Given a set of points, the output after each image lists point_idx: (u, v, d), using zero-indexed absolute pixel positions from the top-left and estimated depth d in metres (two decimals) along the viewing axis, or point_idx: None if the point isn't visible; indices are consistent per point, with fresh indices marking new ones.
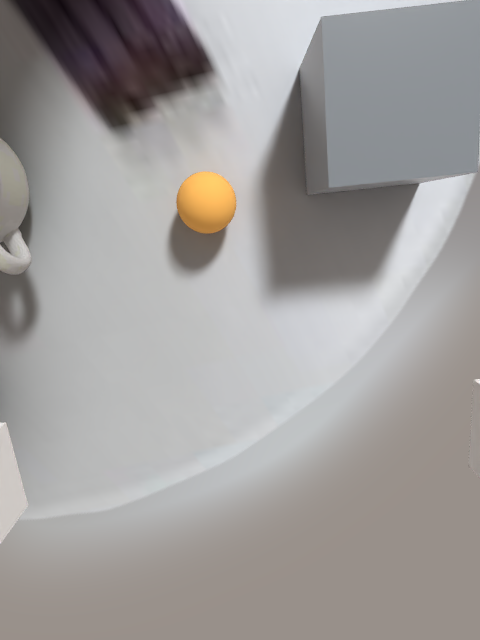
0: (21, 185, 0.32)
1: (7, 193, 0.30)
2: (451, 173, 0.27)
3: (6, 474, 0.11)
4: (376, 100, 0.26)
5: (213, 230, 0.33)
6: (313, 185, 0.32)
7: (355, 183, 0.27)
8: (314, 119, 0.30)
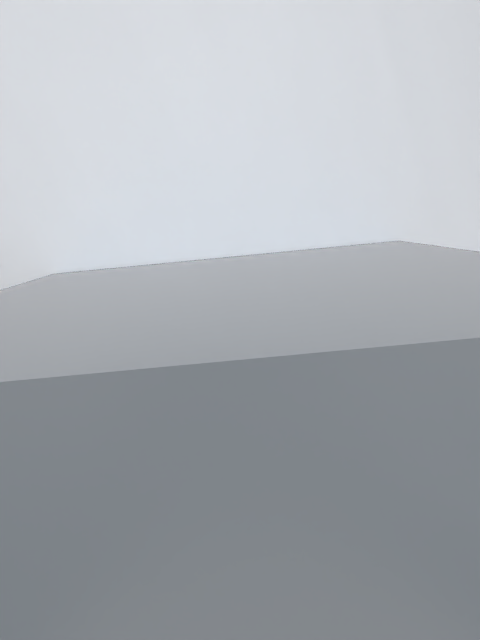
0: None
1: None
2: None
3: None
4: None
5: None
6: None
7: None
8: None
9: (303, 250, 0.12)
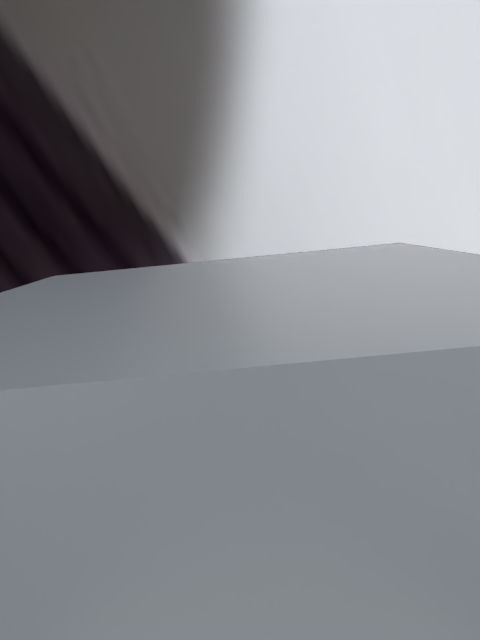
0: None
1: None
2: None
3: None
4: None
5: None
6: None
7: None
8: None
9: (303, 252, 0.11)
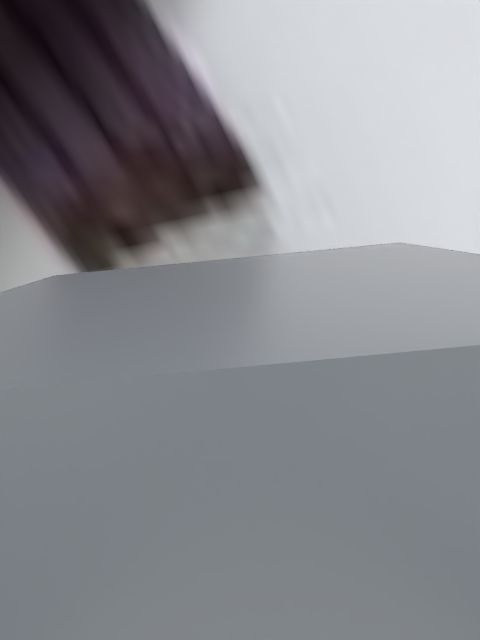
0: None
1: None
2: None
3: None
4: None
5: None
6: None
7: None
8: None
9: (303, 252, 0.11)
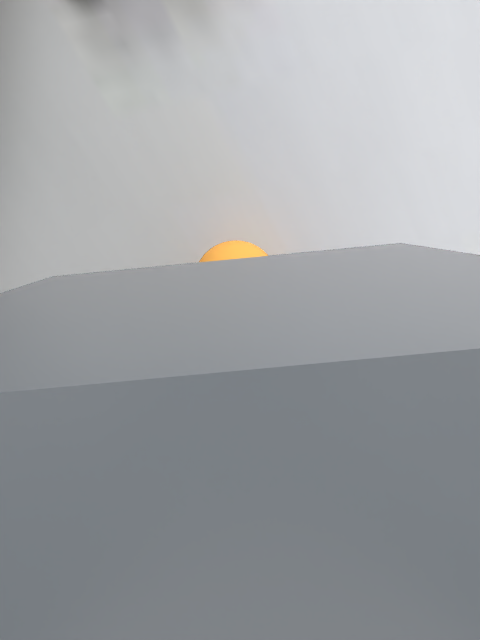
0: None
1: None
2: None
3: None
4: None
5: (237, 241, 0.22)
6: None
7: None
8: None
9: (304, 252, 0.11)
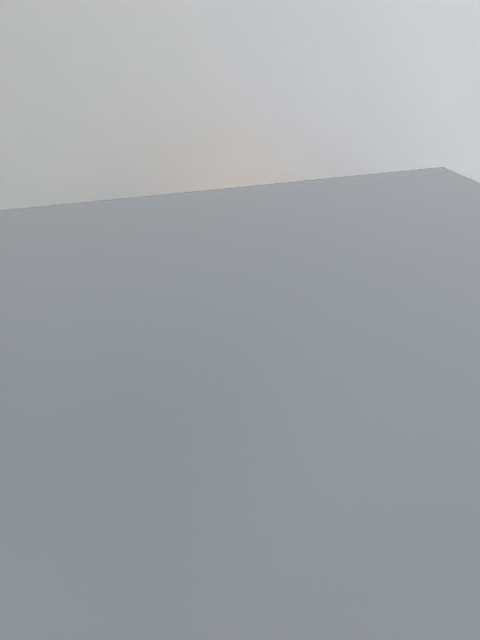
0: None
1: None
2: None
3: None
4: None
5: None
6: None
7: None
8: None
9: (317, 181, 0.09)
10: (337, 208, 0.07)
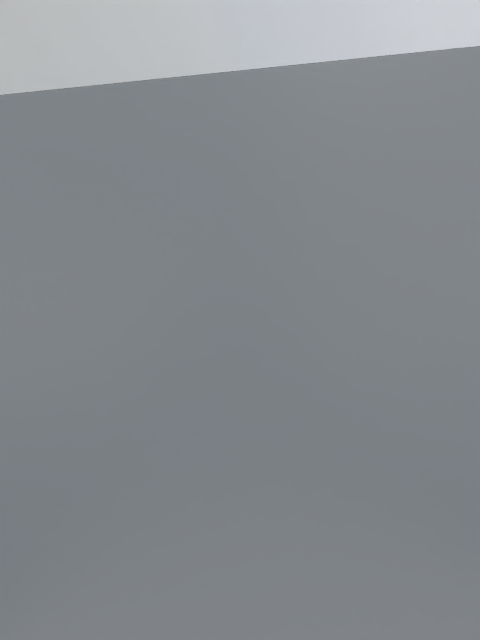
0: None
1: None
2: None
3: None
4: (79, 612, 0.04)
5: None
6: None
7: None
8: None
9: None
10: None
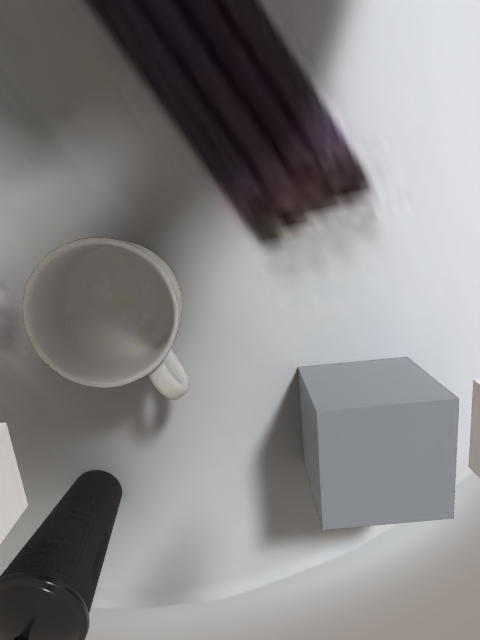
0: (181, 306, 0.32)
1: None
2: (430, 519, 0.31)
3: (6, 474, 0.11)
4: (364, 469, 0.30)
5: None
6: (309, 479, 0.36)
7: (346, 526, 0.31)
8: (310, 445, 0.33)
9: (377, 360, 0.37)
10: (385, 368, 0.35)
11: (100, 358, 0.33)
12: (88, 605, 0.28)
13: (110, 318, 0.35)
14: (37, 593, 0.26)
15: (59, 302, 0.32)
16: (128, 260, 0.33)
